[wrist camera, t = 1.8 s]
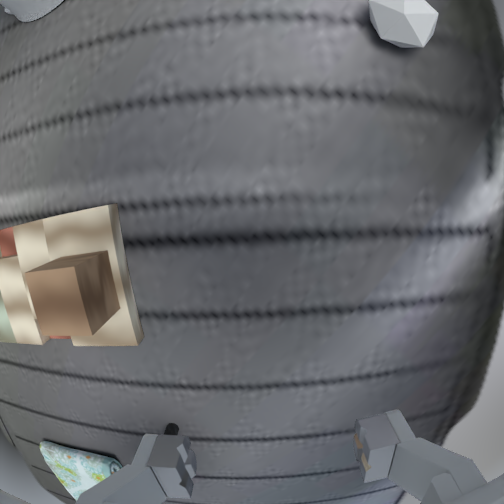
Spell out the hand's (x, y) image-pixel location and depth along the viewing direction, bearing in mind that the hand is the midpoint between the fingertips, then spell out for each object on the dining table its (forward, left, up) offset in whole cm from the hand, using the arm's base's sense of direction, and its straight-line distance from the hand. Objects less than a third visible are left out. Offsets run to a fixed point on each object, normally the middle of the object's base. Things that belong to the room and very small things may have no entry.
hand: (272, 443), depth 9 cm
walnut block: (0, -20, -25) cm, 32 cm away
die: (-28, +20, -27) cm, 44 cm away
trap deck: (0, -32, -27) cm, 42 cm away
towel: (+42, -38, -28) cm, 63 cm away
